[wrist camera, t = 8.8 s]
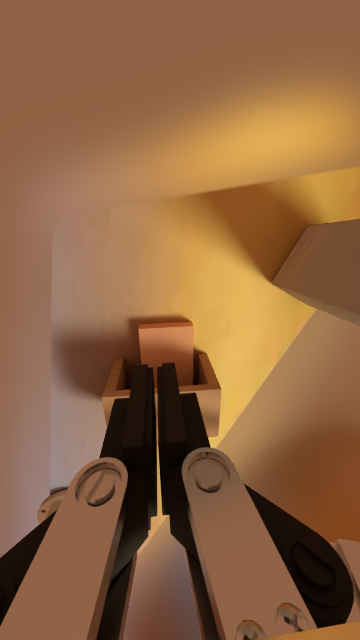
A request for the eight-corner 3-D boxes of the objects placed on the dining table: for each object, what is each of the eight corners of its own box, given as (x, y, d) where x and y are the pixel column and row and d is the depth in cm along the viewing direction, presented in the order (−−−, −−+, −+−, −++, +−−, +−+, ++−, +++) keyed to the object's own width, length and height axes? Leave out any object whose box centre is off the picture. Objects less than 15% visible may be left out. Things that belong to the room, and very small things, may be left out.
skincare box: (304, 303, 31) (434, 365, 17) (264, 279, 30) (370, 325, 15) (345, 247, 29) (539, 262, 14) (305, 217, 27) (478, 199, 13)
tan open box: (204, 399, 36) (217, 443, 28) (120, 405, 35) (111, 452, 27) (206, 353, 33) (221, 389, 25) (114, 358, 32) (101, 397, 24)
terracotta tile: (190, 391, 36) (192, 401, 33) (145, 394, 35) (145, 404, 33) (191, 320, 31) (193, 326, 29) (139, 322, 31) (138, 328, 29)
